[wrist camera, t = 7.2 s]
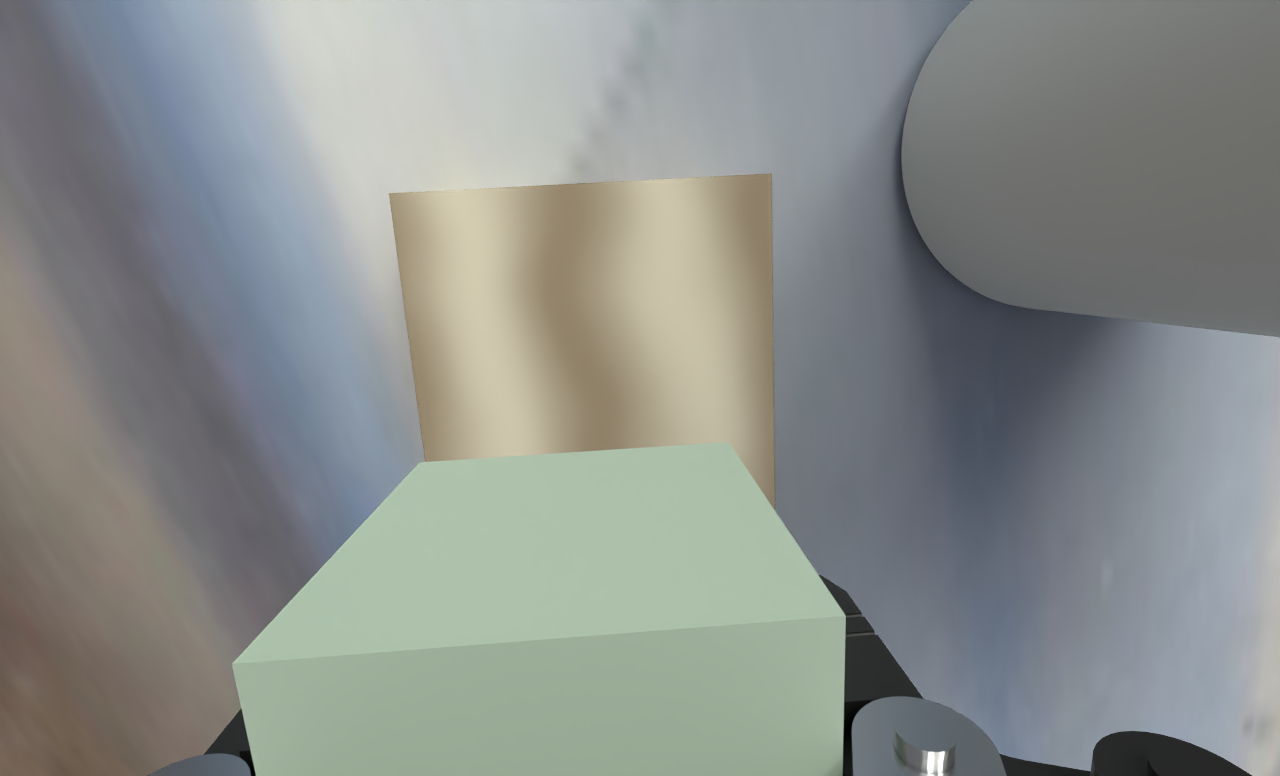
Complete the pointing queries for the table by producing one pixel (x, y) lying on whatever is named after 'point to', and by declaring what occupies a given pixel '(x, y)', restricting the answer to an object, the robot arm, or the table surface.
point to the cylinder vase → (1105, 158)
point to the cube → (557, 629)
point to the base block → (592, 317)
